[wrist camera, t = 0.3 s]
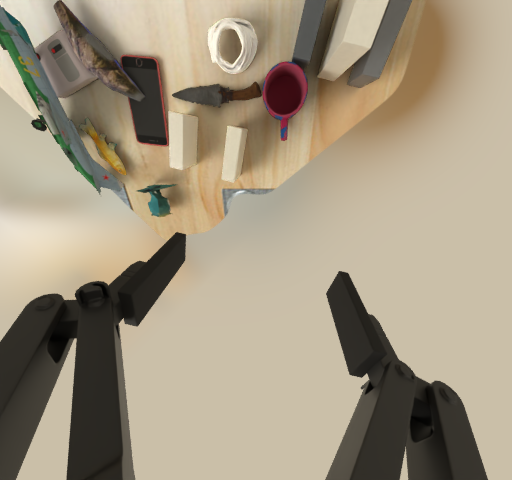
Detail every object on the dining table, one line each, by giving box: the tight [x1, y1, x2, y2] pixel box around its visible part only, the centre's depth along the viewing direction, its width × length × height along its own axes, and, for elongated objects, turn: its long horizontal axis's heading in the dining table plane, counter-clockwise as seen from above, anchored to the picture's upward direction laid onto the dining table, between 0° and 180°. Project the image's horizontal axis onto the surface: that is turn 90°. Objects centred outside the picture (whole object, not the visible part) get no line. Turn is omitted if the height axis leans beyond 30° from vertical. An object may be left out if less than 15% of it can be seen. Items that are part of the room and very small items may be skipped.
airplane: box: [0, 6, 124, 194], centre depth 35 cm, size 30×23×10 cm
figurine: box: [138, 184, 177, 217], centre depth 45 cm, size 12×9×8 cm
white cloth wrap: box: [208, 18, 258, 74], centre depth 30 cm, size 8×7×5 cm
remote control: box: [34, 29, 98, 98], centre depth 34 cm, size 7×16×3 cm, turn 109°
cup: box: [263, 62, 308, 141], centre depth 32 cm, size 7×10×7 cm
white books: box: [168, 111, 248, 182], centre depth 36 cm, size 12×9×7 cm
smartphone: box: [121, 55, 169, 146], centre depth 36 cm, size 7×1×14 cm
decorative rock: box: [54, 0, 145, 101], centre depth 33 cm, size 16×2×5 cm
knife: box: [172, 82, 262, 107], centre depth 34 cm, size 17×2×5 cm
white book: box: [317, 0, 389, 81], centre depth 24 cm, size 3×9×15 cm, turn 168°
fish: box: [79, 118, 127, 176], centre depth 41 cm, size 12×2×5 cm
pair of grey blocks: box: [292, 0, 412, 88], centre depth 27 cm, size 12×9×7 cm
